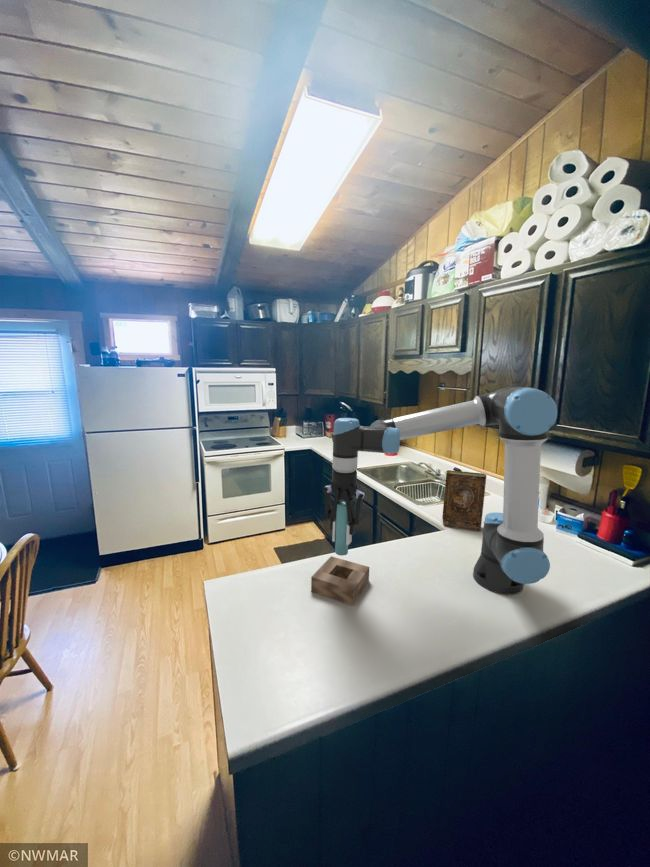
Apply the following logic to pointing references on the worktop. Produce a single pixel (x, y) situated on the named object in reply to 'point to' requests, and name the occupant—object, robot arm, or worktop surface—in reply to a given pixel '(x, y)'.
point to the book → (464, 500)
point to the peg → (341, 529)
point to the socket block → (340, 580)
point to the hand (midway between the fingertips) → (341, 541)
